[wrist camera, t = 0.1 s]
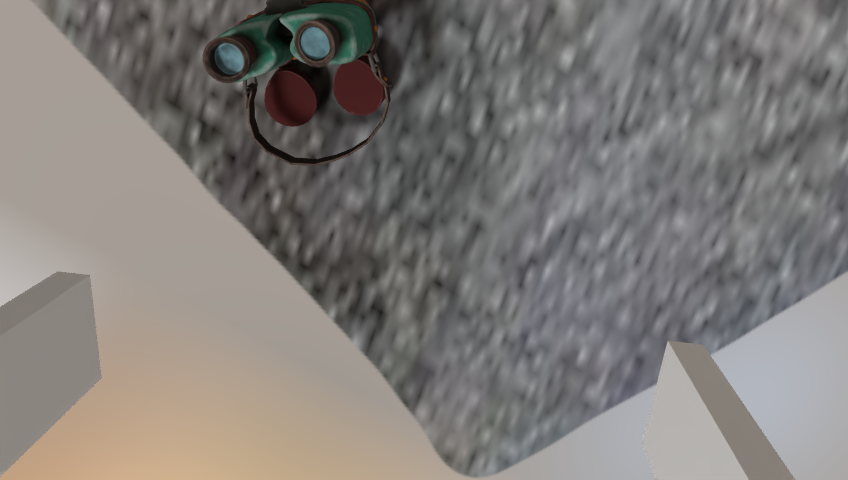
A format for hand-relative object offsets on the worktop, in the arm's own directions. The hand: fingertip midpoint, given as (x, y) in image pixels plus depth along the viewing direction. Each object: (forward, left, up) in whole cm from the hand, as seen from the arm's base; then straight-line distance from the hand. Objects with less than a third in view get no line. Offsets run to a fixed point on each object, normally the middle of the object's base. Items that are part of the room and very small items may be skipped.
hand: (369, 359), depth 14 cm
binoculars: (-3, -7, -28) cm, 29 cm away
